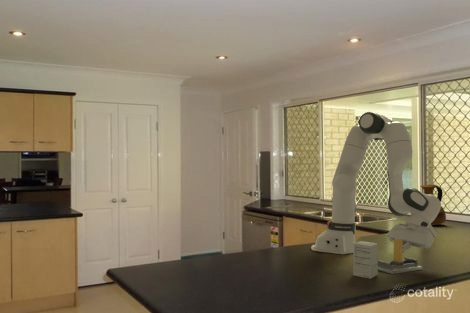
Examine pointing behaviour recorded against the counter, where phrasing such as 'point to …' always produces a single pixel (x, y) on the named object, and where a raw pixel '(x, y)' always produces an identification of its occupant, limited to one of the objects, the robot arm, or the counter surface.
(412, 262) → the console
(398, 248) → the orange upright block
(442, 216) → the ceramic pitcher
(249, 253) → the counter surface
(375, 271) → the supplement box
